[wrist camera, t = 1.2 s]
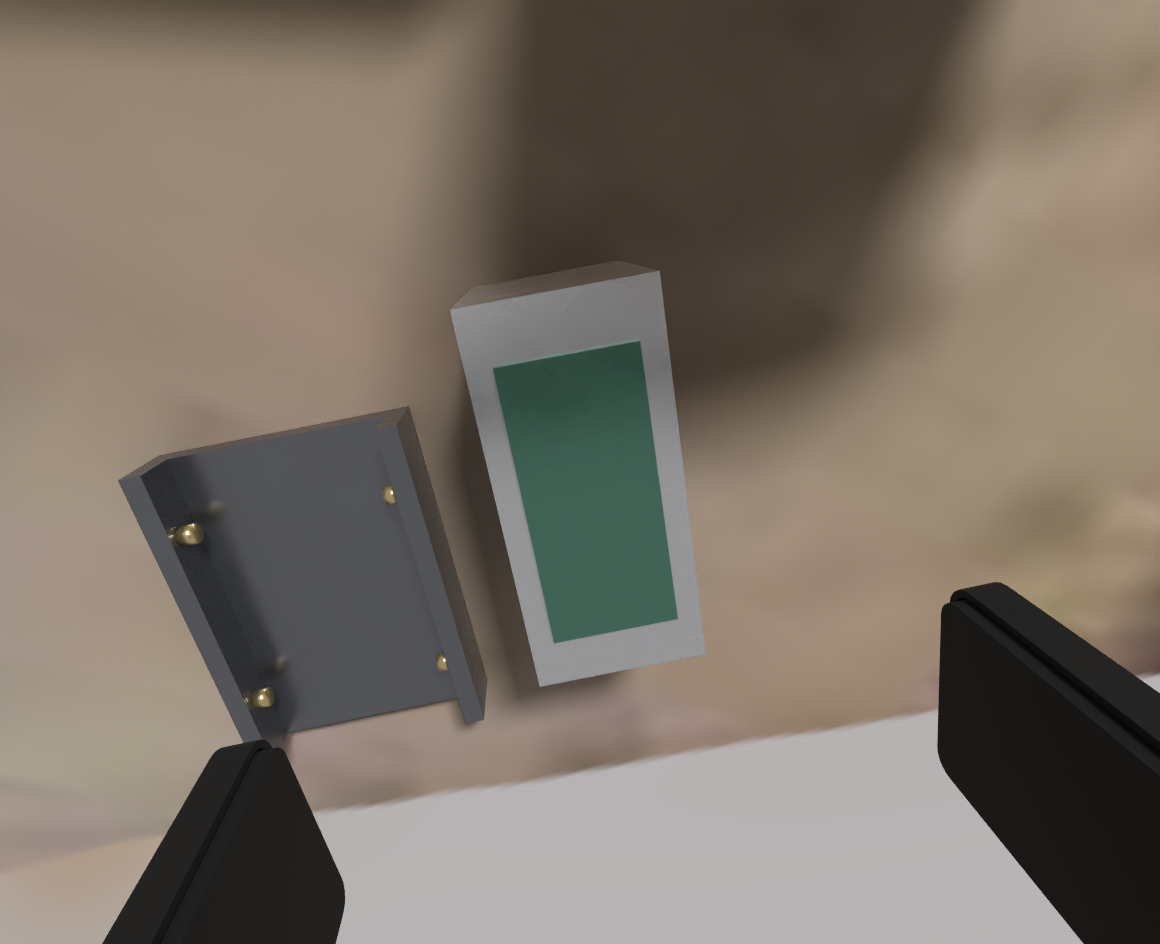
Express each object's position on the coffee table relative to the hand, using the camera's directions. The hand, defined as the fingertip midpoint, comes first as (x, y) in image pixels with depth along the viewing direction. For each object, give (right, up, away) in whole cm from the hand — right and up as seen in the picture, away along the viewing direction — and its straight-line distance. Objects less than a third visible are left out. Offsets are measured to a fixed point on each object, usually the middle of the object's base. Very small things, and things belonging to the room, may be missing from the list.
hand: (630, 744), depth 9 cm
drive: (-1, +5, +14) cm, 15 cm away
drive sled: (-10, 0, +16) cm, 18 cm away
